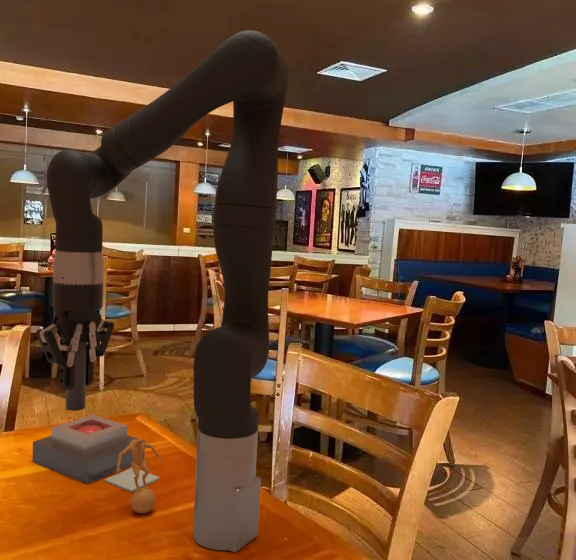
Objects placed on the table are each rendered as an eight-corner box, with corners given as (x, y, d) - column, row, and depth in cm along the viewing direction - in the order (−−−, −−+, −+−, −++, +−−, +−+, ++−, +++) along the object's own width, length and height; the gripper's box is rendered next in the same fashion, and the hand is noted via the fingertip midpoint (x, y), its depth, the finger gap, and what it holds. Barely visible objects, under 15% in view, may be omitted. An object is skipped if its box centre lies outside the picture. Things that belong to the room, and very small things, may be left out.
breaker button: (105, 450, 117) (106, 428, 117) (88, 457, 114) (88, 434, 113) (90, 445, 120) (91, 423, 119) (72, 451, 116) (73, 429, 115)
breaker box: (144, 460, 119) (145, 426, 118) (87, 484, 107) (88, 446, 106) (90, 441, 127) (91, 409, 126) (32, 461, 115) (33, 426, 114)
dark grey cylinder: (89, 407, 96) (90, 340, 95) (74, 412, 93) (75, 343, 92) (76, 403, 97) (78, 338, 96) (61, 408, 95) (62, 340, 94)
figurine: (125, 524, 94) (128, 451, 93) (108, 509, 98) (109, 439, 97) (170, 509, 99) (173, 440, 98) (152, 495, 104) (154, 429, 103)
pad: (159, 479, 110) (159, 477, 110) (131, 492, 105) (131, 490, 104) (132, 469, 114) (133, 467, 114) (104, 481, 108) (104, 479, 108)
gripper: (55, 284, 86) (53, 400, 87) (128, 279, 98) (125, 381, 99) (23, 279, 89) (22, 391, 91) (97, 275, 101) (95, 374, 103)
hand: (76, 385), depth 95 cm, fingers closed on dark grey cylinder, 3 cm apart
